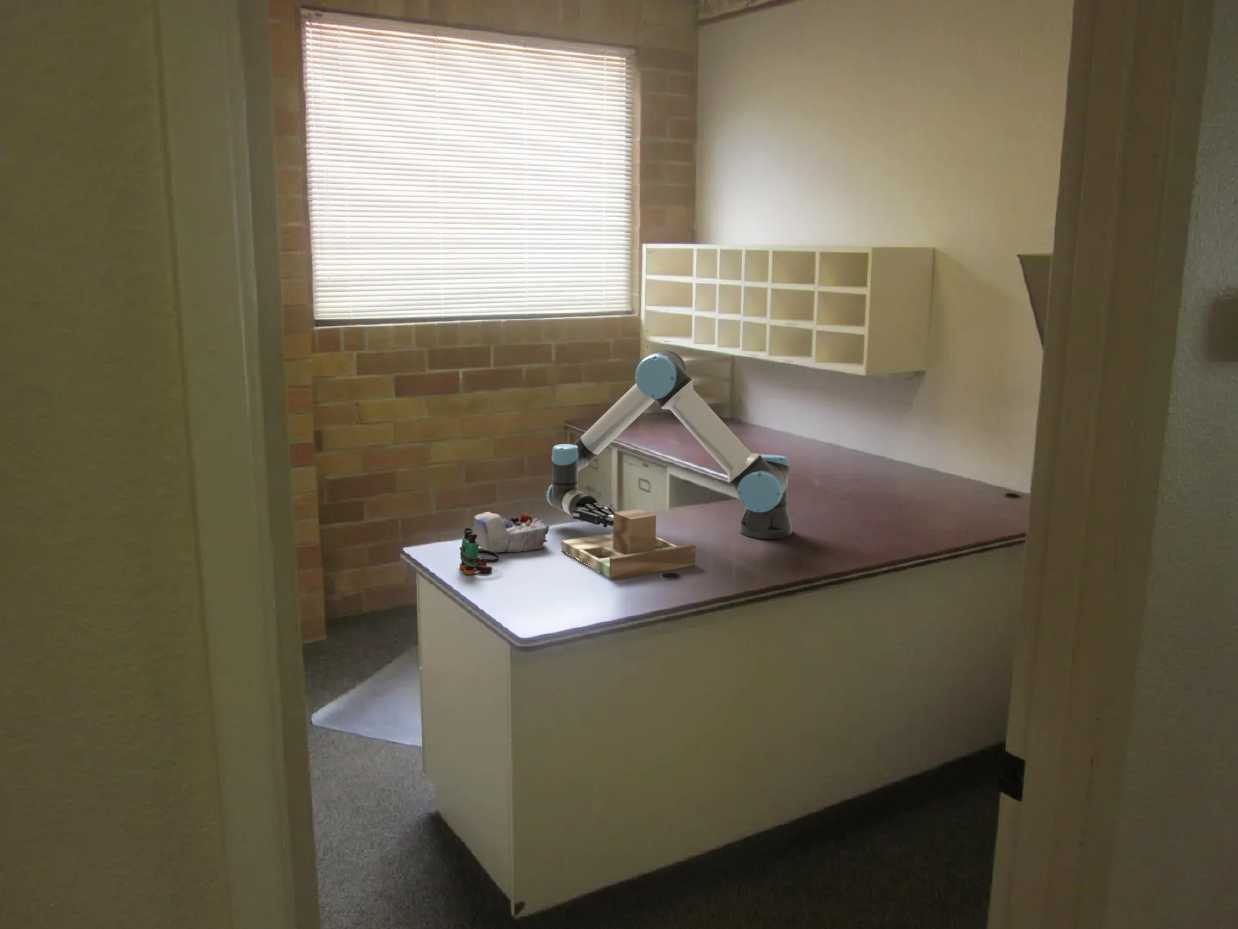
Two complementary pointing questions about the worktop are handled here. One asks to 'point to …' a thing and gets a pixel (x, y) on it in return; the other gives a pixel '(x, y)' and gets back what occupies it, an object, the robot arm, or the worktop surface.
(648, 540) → the walnut block
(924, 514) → the worktop surface
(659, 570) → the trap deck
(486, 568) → the binoculars
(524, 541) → the cell model
